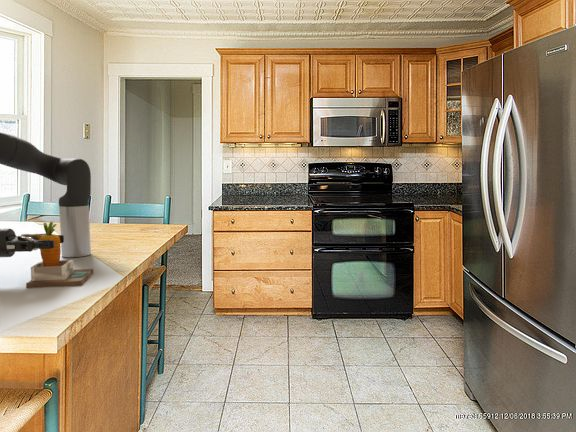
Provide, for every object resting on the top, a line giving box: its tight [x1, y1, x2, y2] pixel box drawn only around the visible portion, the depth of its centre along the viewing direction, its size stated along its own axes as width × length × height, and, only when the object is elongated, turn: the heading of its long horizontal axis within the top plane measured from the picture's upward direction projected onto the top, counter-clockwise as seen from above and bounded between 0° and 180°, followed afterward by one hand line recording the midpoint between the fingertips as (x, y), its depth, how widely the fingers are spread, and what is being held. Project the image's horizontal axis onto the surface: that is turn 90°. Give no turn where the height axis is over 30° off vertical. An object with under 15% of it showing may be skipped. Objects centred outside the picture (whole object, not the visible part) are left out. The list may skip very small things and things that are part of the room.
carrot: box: [39, 220, 62, 266], centre depth 121 cm, size 5×5×15 cm
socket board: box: [25, 259, 94, 289], centre depth 123 cm, size 14×13×5 cm
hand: (59, 241), depth 121 cm, fingers open, 8 cm apart
